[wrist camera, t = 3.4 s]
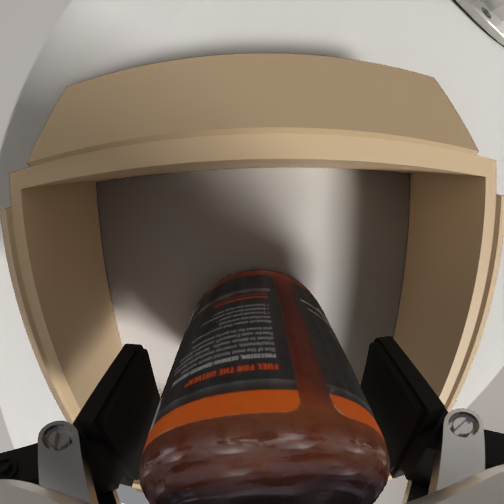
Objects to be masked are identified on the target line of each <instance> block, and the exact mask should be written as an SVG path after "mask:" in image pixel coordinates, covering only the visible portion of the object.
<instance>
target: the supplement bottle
mask: <svg viewBox="0 0 504 504" xmlns="http://www.w3.org/2000/svg"><path fill="white" fill-rule="evenodd" d="M389 470H390V459H389V455H388V451H387V447H386V443H385V440H384V437H383V435H382V433H381V431H380V428H379V426H378V424H377V423H376V421H375V418H374V415H373V413H372V411H371V408H370V406H369V404H368V402H367V400H366V398H365V396H364V394H363V391H362V389H361V387H360V385H359V383H358V381H357V378H356V376H355V374H354V372H353V370H352V367H351V365H350V364H349V362H348V360H347V358H346V355H345V354H344V352H343V350H342V348H341V346H340V344H339V342H338V340H337V338H336V336H335V334H334V332H333V330H332V328H331V326H330V324H329V322H328V320H327V318H326V316H325V314H324V312H323V310H322V309H321V307H320V305H319V303H318V302H317V300H316V299H315V298H314V296H313V295H312V294H311V292H310V291H309V290H308V289H307V288H306V287H305V286H303V285H302V284H301V283H299V282H298V281H296V280H294V279H293V278H291V277H288V276H286V275H283V274H280V273H277V272H272V271H266V270H251V271H245V272H240V273H236V274H233V275H231V276H228V277H226V278H224V279H222V280H220V281H219V282H217V283H216V284H214V285H213V286H212V287H211V288H210V289H209V290H208V291H207V292H206V293H205V294H204V295H203V296H202V298H201V299H200V301H199V302H198V304H197V306H196V308H195V309H194V312H193V314H192V316H191V319H190V322H189V324H188V327H187V329H186V332H185V334H184V337H183V340H182V342H181V345H180V347H179V350H178V352H177V355H176V358H175V361H174V363H173V366H172V369H171V371H170V374H169V377H168V379H167V383H166V385H165V388H164V391H163V393H162V396H161V400H160V402H159V405H158V408H157V411H156V414H155V417H154V420H153V422H152V425H151V428H150V431H149V434H148V438H147V441H146V444H145V447H144V450H143V453H142V457H141V461H140V466H139V482H140V486H141V489H142V491H143V493H144V495H145V497H146V499H147V500H148V502H149V503H150V504H373V503H374V502H375V501H376V499H377V498H378V497H379V495H380V493H381V492H382V491H383V489H384V487H385V486H386V484H387V481H388V477H389Z"/></svg>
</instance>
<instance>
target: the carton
mask: <svg viewBox="0 0 504 504" xmlns="http://www.w3.org/2000/svg"><path fill="white" fill-rule="evenodd" d="M478 152H479V151H478V149H477V147H476V145H475V143H474V141H473V139H472V137H471V135H470V134H469V132H468V130H467V128H466V126H465V125H464V123H463V121H462V119H461V118H460V116H459V114H458V113H457V111H456V109H455V108H454V106H453V105H452V103H451V102H450V100H449V98H448V97H447V95H446V94H445V92H444V91H443V89H442V88H441V87H440V85H439V84H438V82H437V81H436V79H435V78H433V77H430V76H427V75H423V74H419V73H416V72H412V71H408V70H404V69H400V68H395V67H391V66H386V65H381V64H376V63H370V62H365V61H359V60H352V59H345V58H337V57H328V56H317V55H304V54H281V53H250V54H227V55H214V56H203V57H194V58H186V59H179V60H172V61H166V62H160V63H154V64H149V65H144V66H139V67H135V68H130V69H126V70H122V71H118V72H114V73H110V74H107V75H103V76H99V77H96V78H93V79H89V80H86V81H83V82H80V83H77V84H74V85H71V86H68V87H67V88H66V89H65V91H64V93H63V94H62V96H61V97H60V99H59V101H58V102H57V104H56V106H55V108H54V109H53V111H52V113H51V115H50V117H49V118H48V120H47V122H46V124H45V126H44V128H43V130H42V132H41V134H40V136H39V138H38V140H37V142H36V144H35V146H34V148H33V150H32V152H31V155H30V157H29V159H28V161H27V164H28V165H29V166H30V167H27V168H24V169H21V170H17V171H14V172H11V173H9V180H10V198H11V207H10V208H5V209H0V215H1V224H2V232H3V239H4V245H5V251H6V257H7V262H8V267H9V272H10V276H11V280H12V285H13V289H14V292H15V296H16V300H17V304H18V307H19V310H20V314H21V317H22V320H23V323H24V326H25V329H26V332H27V335H28V338H29V341H30V343H31V346H32V349H33V351H34V354H35V356H36V359H37V361H38V364H39V366H40V368H41V371H42V373H43V375H44V377H45V380H46V382H47V384H48V386H49V388H50V390H51V392H52V394H53V396H54V398H55V400H56V402H57V404H58V406H59V408H60V410H61V412H62V413H63V415H64V417H65V419H66V420H67V422H69V423H71V424H73V422H74V420H75V419H76V417H77V416H78V414H79V412H80V411H81V409H82V408H83V406H84V405H85V403H86V401H87V400H88V398H89V397H90V395H91V394H92V392H93V391H94V389H95V388H96V386H97V385H98V383H99V382H100V380H101V379H102V377H103V376H104V374H105V373H106V371H107V370H108V368H109V367H110V365H111V364H112V362H113V361H114V359H115V358H116V356H117V355H118V354H119V352H120V351H121V349H122V348H123V347H122V344H121V340H120V336H119V332H118V328H117V324H116V320H115V315H114V311H113V306H112V301H111V296H110V291H109V286H108V281H107V275H106V269H105V263H104V256H103V249H102V242H101V234H100V225H99V215H98V204H97V190H96V181H103V180H110V179H117V178H125V177H133V176H142V175H151V174H161V173H172V172H184V171H198V170H214V169H235V168H276V167H302V168H342V169H363V170H378V171H392V172H403V173H410V214H409V231H408V243H407V254H406V263H405V272H404V279H403V286H402V293H401V299H400V305H399V311H398V316H397V322H396V327H395V332H394V336H393V339H394V340H395V341H396V342H397V344H398V345H399V346H400V347H401V349H402V350H403V351H404V352H405V354H406V355H407V356H408V358H409V359H410V360H411V361H412V363H413V364H414V365H415V367H416V368H417V369H418V371H419V372H420V373H421V374H422V376H423V377H424V378H425V380H426V381H427V382H428V384H429V385H430V386H431V388H432V389H433V390H434V392H435V393H436V394H437V396H438V397H439V399H440V400H441V401H442V403H443V404H444V405H445V408H446V410H447V411H448V412H451V410H452V408H453V406H454V404H455V402H456V400H457V398H458V395H459V393H460V391H461V389H462V387H463V384H464V382H465V380H466V377H467V375H468V373H469V370H470V368H471V365H472V362H473V360H474V357H475V354H476V352H477V349H478V346H479V343H480V340H481V337H482V334H483V331H484V328H485V324H486V321H487V317H488V314H489V310H490V306H491V302H492V298H493V294H494V290H495V285H496V280H497V276H498V270H499V265H500V259H501V252H502V245H503V237H504V195H497V194H496V183H497V172H496V160H493V159H489V158H485V157H481V156H477V155H476V154H477V153H478ZM403 476H404V475H403ZM400 477H401V476H400ZM391 479H392V476H391V474H390V472H389V477H388V480H391ZM393 479H394V478H393ZM121 485H122V484H121ZM125 486H126V485H125ZM129 487H130V486H129ZM132 487H133V488H136V491H137V492H142V493H143V491H142V489H141V486H140V482H139V479H138V480H134V482H133V485H132Z"/></svg>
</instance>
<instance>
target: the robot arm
mask: <svg viewBox="0 0 504 504" xmlns="http://www.w3.org/2000/svg"><path fill="white" fill-rule="evenodd" d="M456 1H457V3H458V4H459V5H460V6H461V7H462V8H463V9H464V10H465V11H466V12H467V13H468V14H469V15H470V16H471V17H472V18H473V19H474V20H475V21H476V22H477V23H478V24H479V25H480V26H481V27H482V28H483V29H484V30H485V31H486V32H487V33H489V34H490V35H491V36H492V37H493V38H494V39H496V40H497V41H498V42H499V43H500V44H502V45H503V46H504V0H456ZM361 389H362V391H363V394H364V396H365V398H366V400H367V402H368V404H369V406H370V408H371V411H372V413H373V415H374V418H375V421H376V423H377V424H378V426H379V428H380V431H381V433H382V435H383V437H384V440H385V443H386V447H387V451H388V455H389V459H390V470H389V472H390V474H391V476H392V479H393V478H397V477H400V476H403V475H405V477H406V479H407V480H408V483H407V487H406V491H405V495H404V499H403V502H402V504H504V434H502V433H498V432H493V431H489V430H484V427H483V422H482V419H481V418H480V416H479V415H478V414H476V413H475V412H474V411H471V410H469V409H464V408H461V409H455V410H452V411H451V412H448V411H447V410H446V408H445V405H444V404H443V403H442V401H441V400H440V399H439V397H438V396H437V394H436V393H435V392H434V390H433V389H432V388H431V386H430V385H429V384H428V382H427V381H426V380H425V378H424V377H423V376H422V374H421V373H420V372H419V371H418V369H417V368H416V367H415V365H414V364H413V363H412V361H411V360H410V359H409V358H408V356H407V355H406V354H405V352H404V351H403V350H402V349H401V347H400V346H399V345H398V344H397V342H396V341H395V340H394V339H393V337H391V336H387V337H380V338H376V339H375V340H374V342H372V343H371V344H370V346H369V351H368V356H367V361H366V366H365V370H364V375H363V379H362V383H361ZM160 400H161V399H160V396H159V393H158V389H157V386H156V382H155V378H154V375H153V371H152V367H151V363H150V359H149V355H148V351H147V350H146V349H143V347H142V346H141V345H137V344H125V345H124V346H123V348H122V349H121V351H120V352H119V354H118V355H117V356H116V358H115V359H114V361H113V362H112V364H111V365H110V367H109V368H108V370H107V371H106V373H105V374H104V376H103V377H102V379H101V380H100V382H99V383H98V385H97V386H96V388H95V389H94V391H93V392H92V394H91V395H90V397H89V398H88V400H87V401H86V403H85V405H84V406H83V408H82V409H81V411H80V412H79V414H78V416H77V417H76V419H75V420H74V422H73V424H71V423H69V422H66V421H55V422H51V423H49V424H47V425H46V426H45V427H43V428H42V429H41V431H40V433H39V436H38V443H36V444H33V445H29V446H26V447H22V448H19V449H15V450H11V451H7V452H3V453H0V504H121V503H120V500H119V497H118V494H117V491H116V489H118V488H119V485H120V484H122V485H126V486H130V487H132V485H133V482H134V480H138V479H139V466H140V461H141V457H142V453H143V450H144V447H145V444H146V441H147V438H148V434H149V431H150V428H151V425H152V422H153V420H154V417H155V414H156V411H157V408H158V405H159V402H160Z"/></svg>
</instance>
